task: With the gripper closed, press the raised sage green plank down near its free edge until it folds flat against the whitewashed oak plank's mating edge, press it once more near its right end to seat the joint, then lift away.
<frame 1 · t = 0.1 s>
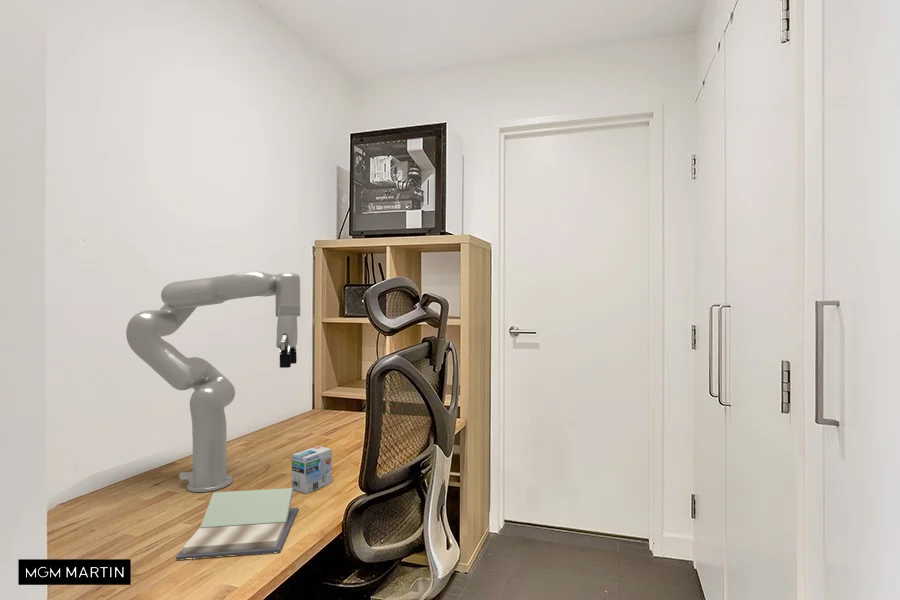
hand: (288, 365, 149), 37 cm above the table, tool pointing down, fingers open, 9 cm apart
light bulb box: (312, 486, 144), on the table
underlay mat: (243, 532, 115), on the table
oak plank: (237, 536, 110), on the underlay mat, point 1 cm above the table
sage plank: (249, 508, 119), point 4 cm above the table, hinge at 30.0°
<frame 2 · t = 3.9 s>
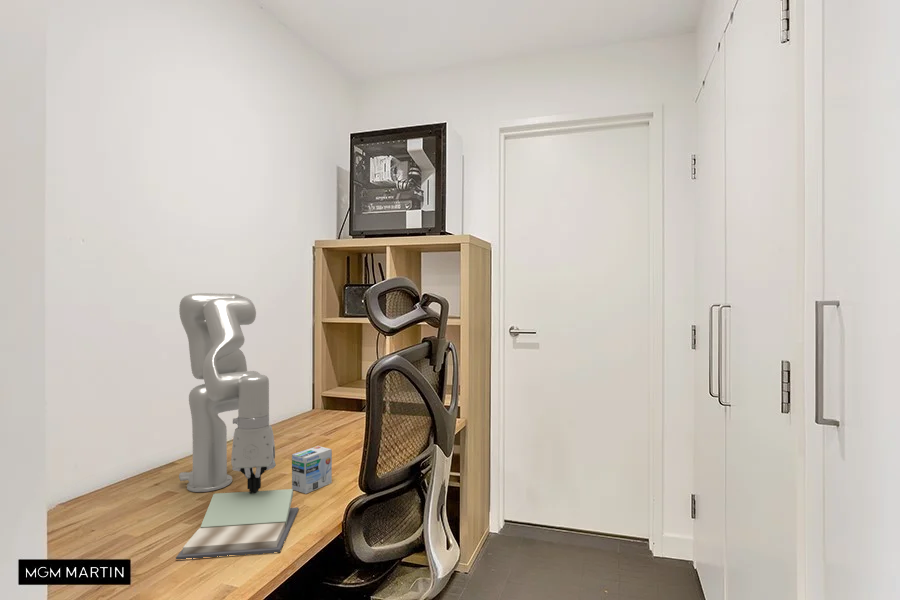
hand: (254, 491, 124), 7 cm above the table, tool pointing down, fingers closed
sage plank: (249, 509, 120), point 4 cm above the table, hinge at 27.1°, touching gripper
everything else where it was.
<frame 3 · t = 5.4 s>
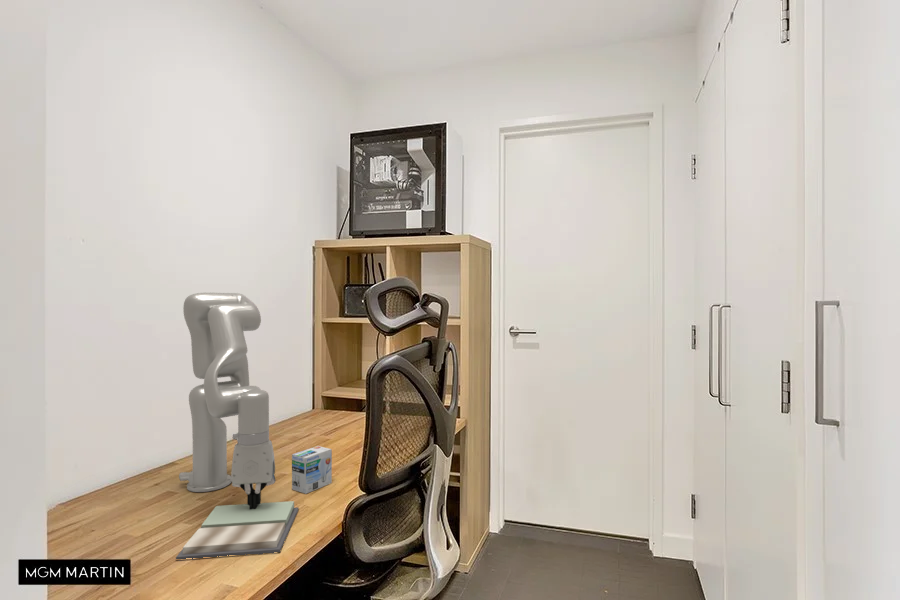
hand: (254, 507, 124), 3 cm above the table, tool pointing down, fingers closed
sage plank: (250, 515, 120), point 2 cm above the table, hinge at 2.7°, touching gripper
everything else where it was.
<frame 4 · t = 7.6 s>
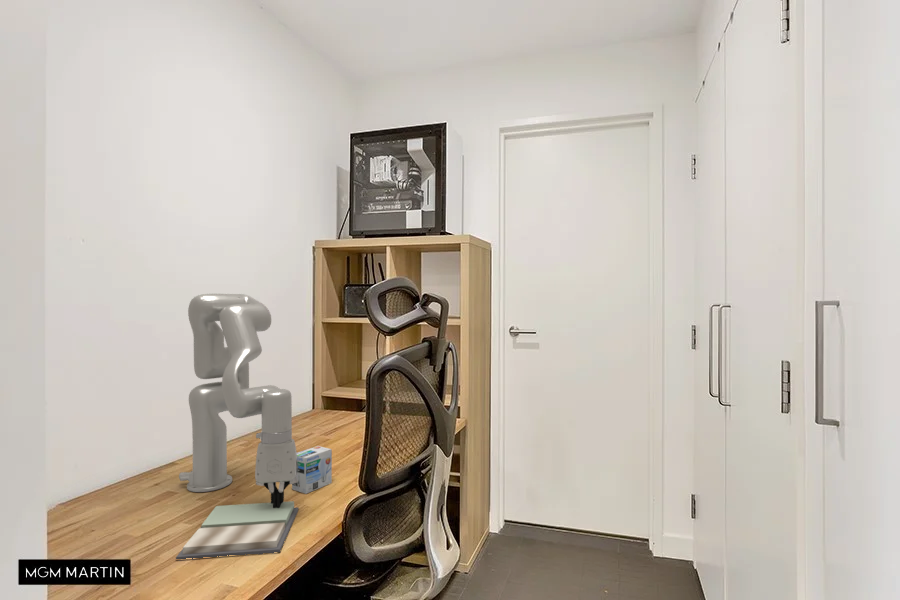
hand: (277, 505, 124), 3 cm above the table, tool pointing down, fingers closed
nothing on the table moved.
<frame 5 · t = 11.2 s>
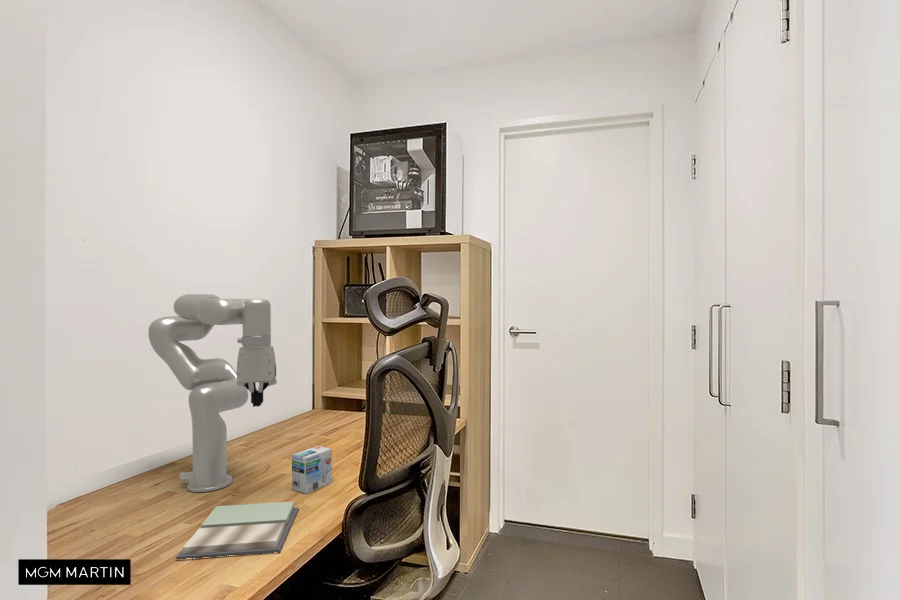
hand: (257, 405, 135), 27 cm above the table, tool pointing down, fingers closed
sage plank: (250, 515, 120), point 2 cm above the table, hinge at 2.2°
everything else where it was.
at the end: sage plank at +2° (first picture: +30°) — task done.
